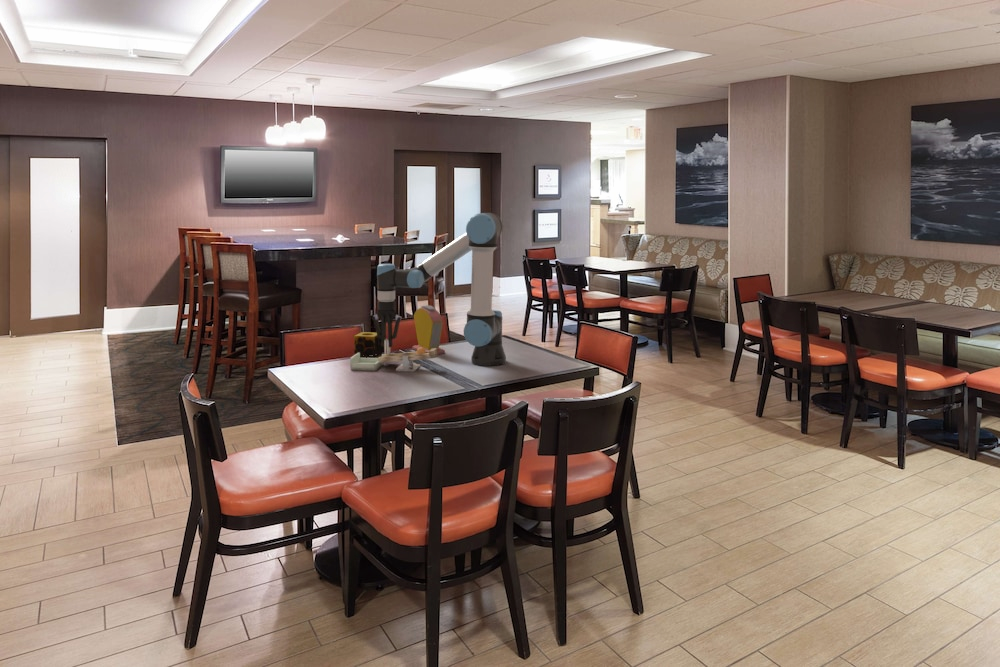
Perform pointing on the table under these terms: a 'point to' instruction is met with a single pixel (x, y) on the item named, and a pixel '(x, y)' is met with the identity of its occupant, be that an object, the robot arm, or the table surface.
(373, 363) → the tray
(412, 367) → the fulcrum
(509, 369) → the table surface
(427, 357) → the beige piece
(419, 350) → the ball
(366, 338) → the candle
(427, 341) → the pink yellow-faced device
